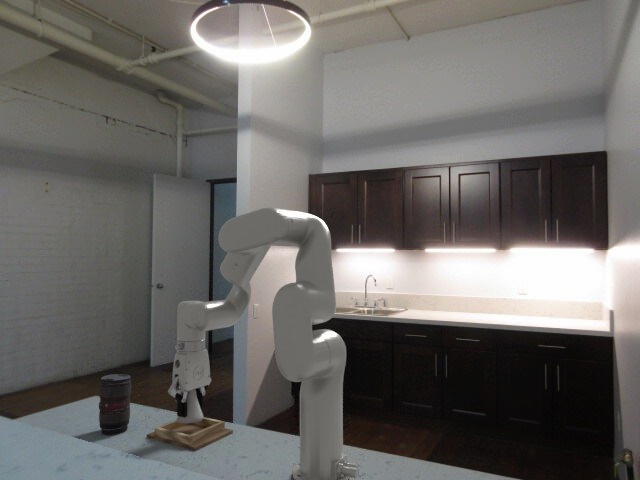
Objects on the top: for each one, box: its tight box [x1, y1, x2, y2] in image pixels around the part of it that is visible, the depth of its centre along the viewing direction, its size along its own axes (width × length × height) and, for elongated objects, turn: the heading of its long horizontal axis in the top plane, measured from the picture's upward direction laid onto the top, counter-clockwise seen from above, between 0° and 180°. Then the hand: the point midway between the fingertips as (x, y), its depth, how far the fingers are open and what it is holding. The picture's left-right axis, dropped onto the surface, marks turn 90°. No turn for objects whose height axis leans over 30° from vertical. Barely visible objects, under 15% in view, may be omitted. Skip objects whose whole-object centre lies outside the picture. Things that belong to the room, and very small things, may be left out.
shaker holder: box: [146, 416, 234, 452], centre depth 125 cm, size 18×14×3 cm
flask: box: [176, 389, 205, 423], centre depth 125 cm, size 7×7×10 cm
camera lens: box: [98, 373, 132, 436], centre depth 129 cm, size 8×8×15 cm
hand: (190, 412), depth 125 cm, fingers closed on flask, 5 cm apart
